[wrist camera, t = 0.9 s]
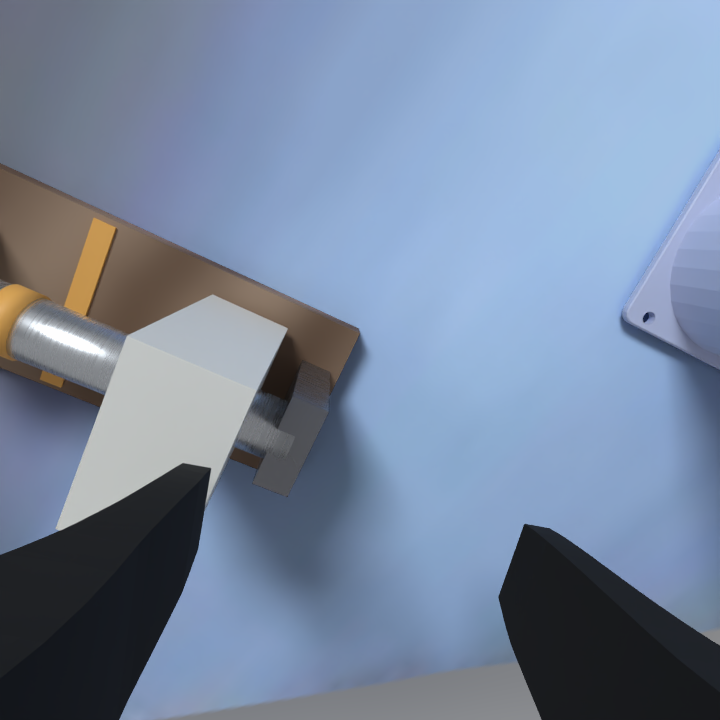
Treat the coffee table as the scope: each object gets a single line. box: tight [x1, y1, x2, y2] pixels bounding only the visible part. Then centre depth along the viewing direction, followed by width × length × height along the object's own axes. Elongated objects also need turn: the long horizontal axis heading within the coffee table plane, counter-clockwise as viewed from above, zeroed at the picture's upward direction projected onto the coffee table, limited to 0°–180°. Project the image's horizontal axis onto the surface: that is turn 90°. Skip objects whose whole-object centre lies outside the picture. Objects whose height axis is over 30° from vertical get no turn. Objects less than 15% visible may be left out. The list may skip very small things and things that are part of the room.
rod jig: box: [0, 163, 360, 497], centre depth 16 cm, size 15×7×6 cm, turn 65°
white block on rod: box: [56, 294, 288, 530], centre depth 15 cm, size 3×5×7 cm, turn 155°
